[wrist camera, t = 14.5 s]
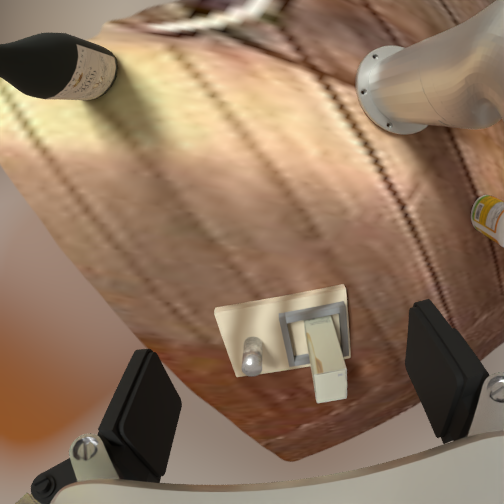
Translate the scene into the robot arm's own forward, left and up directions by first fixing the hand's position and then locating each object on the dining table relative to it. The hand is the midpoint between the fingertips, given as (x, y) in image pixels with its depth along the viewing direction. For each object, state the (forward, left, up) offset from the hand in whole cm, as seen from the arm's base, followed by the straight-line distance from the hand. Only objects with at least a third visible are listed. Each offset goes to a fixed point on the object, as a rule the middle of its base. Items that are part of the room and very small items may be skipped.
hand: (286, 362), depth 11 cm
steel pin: (+8, +24, -32) cm, 41 cm away
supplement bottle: (-34, +10, -34) cm, 49 cm away
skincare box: (-3, +24, -32) cm, 40 cm away
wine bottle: (+20, -22, -34) cm, 45 cm away
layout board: (+2, +24, -33) cm, 41 cm away
